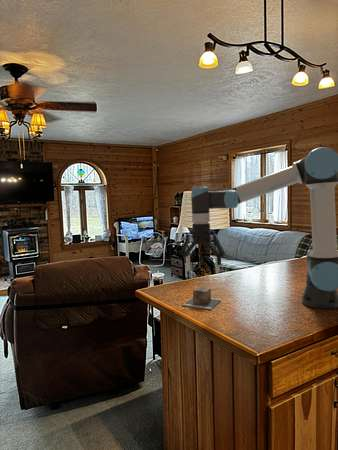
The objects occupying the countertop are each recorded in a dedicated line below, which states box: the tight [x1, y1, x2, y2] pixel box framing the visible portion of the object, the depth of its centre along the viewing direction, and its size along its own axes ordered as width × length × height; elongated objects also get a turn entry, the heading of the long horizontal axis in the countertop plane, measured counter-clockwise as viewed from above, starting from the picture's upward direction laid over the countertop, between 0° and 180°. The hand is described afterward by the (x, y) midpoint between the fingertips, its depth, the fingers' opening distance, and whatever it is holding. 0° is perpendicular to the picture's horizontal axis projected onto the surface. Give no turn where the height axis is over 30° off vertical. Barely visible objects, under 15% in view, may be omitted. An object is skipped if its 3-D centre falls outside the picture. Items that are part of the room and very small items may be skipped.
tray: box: [182, 297, 222, 311], centre depth 148 cm, size 13×13×1 cm
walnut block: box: [192, 286, 212, 305], centre depth 147 cm, size 6×6×6 cm
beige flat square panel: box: [215, 306, 229, 311], centre depth 143 cm, size 9×9×1 cm
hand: (202, 271), depth 146 cm, fingers open, 13 cm apart
